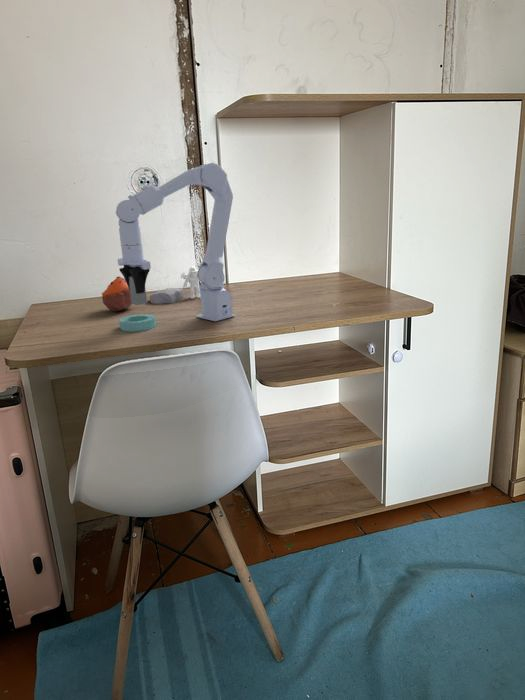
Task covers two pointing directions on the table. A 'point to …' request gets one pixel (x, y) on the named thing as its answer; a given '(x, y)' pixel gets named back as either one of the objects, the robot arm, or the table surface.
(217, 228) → the robot arm
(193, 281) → the blocky character figurine
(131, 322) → the teal creased ring
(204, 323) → the table surface
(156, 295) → the stone block
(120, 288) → the orange rounded figure
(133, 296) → the dark metal rectangular bar
